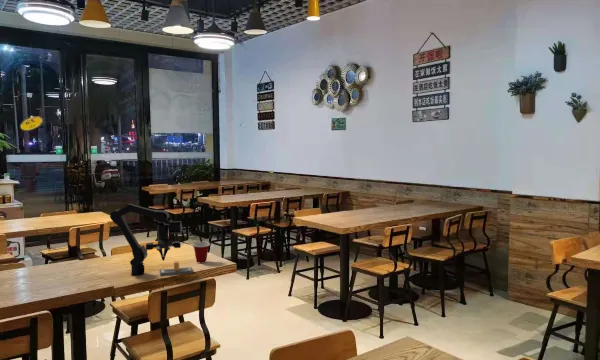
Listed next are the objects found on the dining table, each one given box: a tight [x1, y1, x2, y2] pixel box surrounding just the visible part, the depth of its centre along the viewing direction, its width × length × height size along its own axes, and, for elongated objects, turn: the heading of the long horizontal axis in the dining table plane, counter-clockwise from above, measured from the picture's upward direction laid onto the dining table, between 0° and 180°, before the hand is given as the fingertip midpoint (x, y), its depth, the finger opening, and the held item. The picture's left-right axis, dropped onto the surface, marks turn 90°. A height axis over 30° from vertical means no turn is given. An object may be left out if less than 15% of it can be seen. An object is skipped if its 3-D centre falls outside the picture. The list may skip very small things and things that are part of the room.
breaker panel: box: [159, 266, 194, 277], centre depth 255 cm, size 18×8×2 cm, turn 110°
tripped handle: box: [173, 260, 180, 271], centre depth 254 cm, size 2×4×4 cm, turn 20°
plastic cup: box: [192, 241, 211, 263], centre depth 279 cm, size 11×11×12 cm
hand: (163, 260), depth 252 cm, fingers closed
